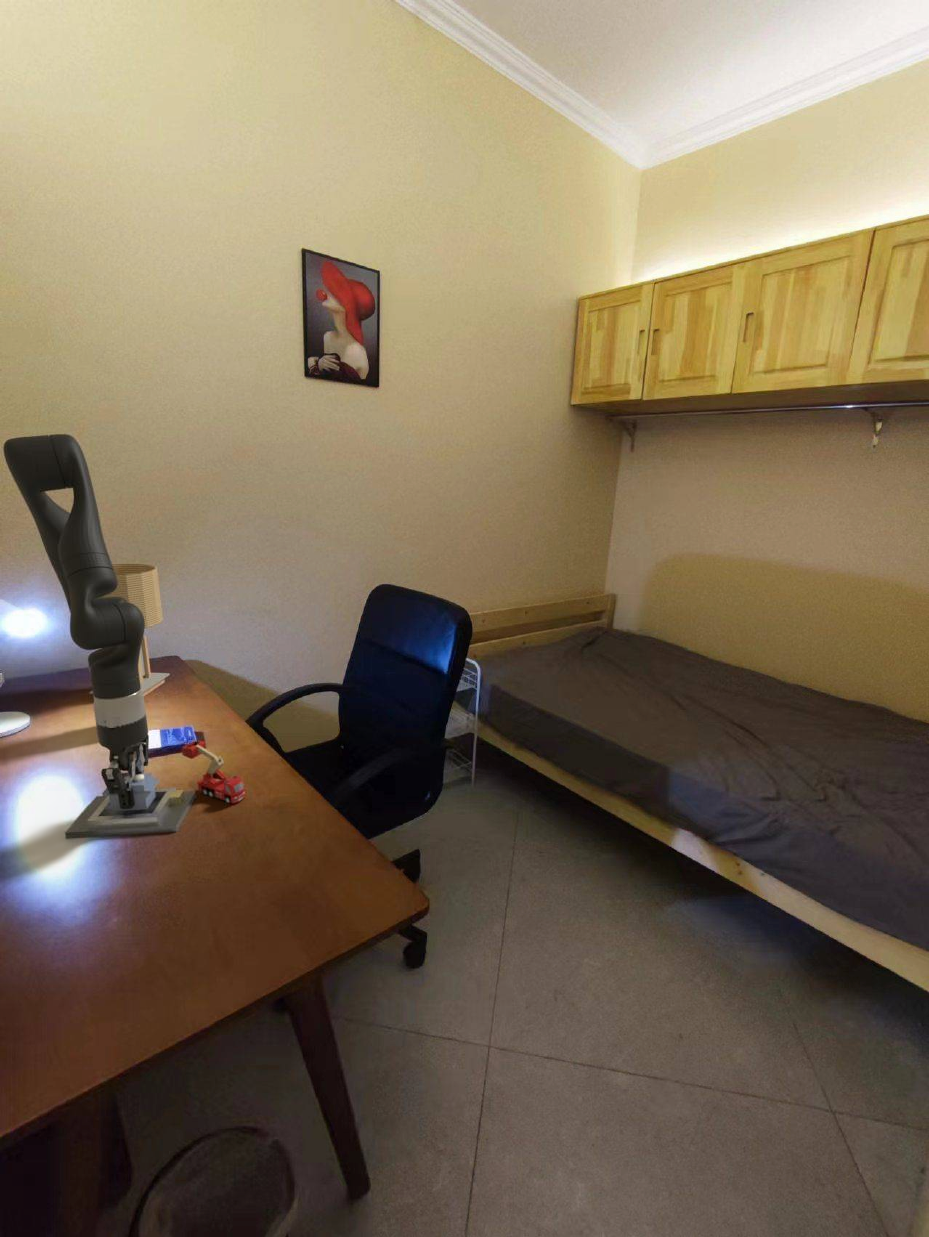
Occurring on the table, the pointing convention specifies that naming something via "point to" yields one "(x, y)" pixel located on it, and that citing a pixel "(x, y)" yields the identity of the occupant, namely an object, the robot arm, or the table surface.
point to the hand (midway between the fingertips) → (133, 799)
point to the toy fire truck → (215, 775)
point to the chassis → (133, 816)
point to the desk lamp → (144, 593)
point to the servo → (137, 792)
